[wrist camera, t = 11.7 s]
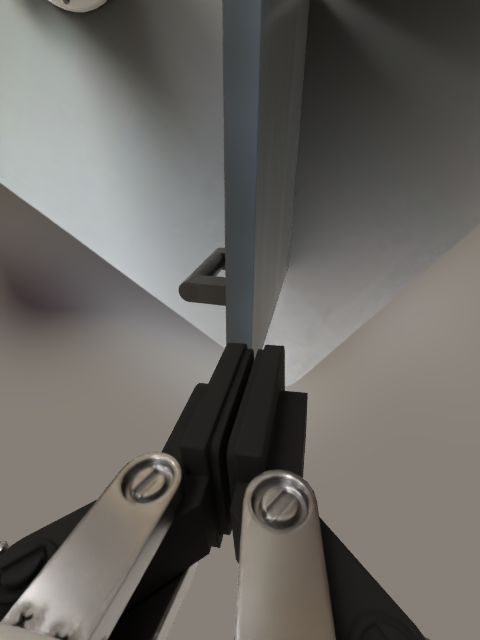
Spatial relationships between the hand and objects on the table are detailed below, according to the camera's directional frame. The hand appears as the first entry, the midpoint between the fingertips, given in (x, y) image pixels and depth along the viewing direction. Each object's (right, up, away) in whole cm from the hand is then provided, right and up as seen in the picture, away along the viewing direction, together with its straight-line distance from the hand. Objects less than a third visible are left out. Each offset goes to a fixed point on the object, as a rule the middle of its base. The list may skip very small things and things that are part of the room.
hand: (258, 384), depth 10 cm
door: (+2, +20, +27) cm, 34 cm away
